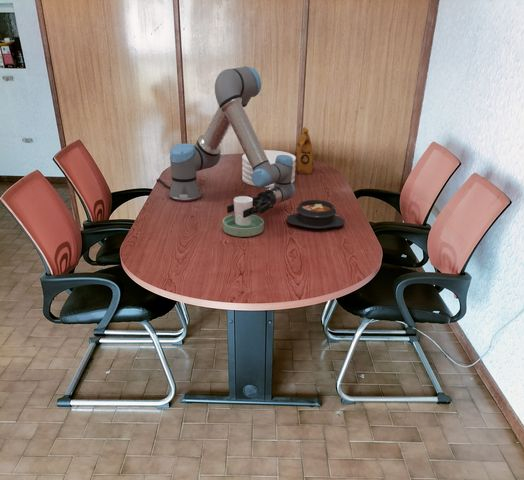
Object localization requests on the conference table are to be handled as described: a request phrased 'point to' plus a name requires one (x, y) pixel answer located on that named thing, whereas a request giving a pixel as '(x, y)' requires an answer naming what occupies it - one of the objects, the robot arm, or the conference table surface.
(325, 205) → the casserole
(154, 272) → the conference table surface
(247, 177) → the plate stack
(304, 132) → the coffee package
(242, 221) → the white cup
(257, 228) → the basin
